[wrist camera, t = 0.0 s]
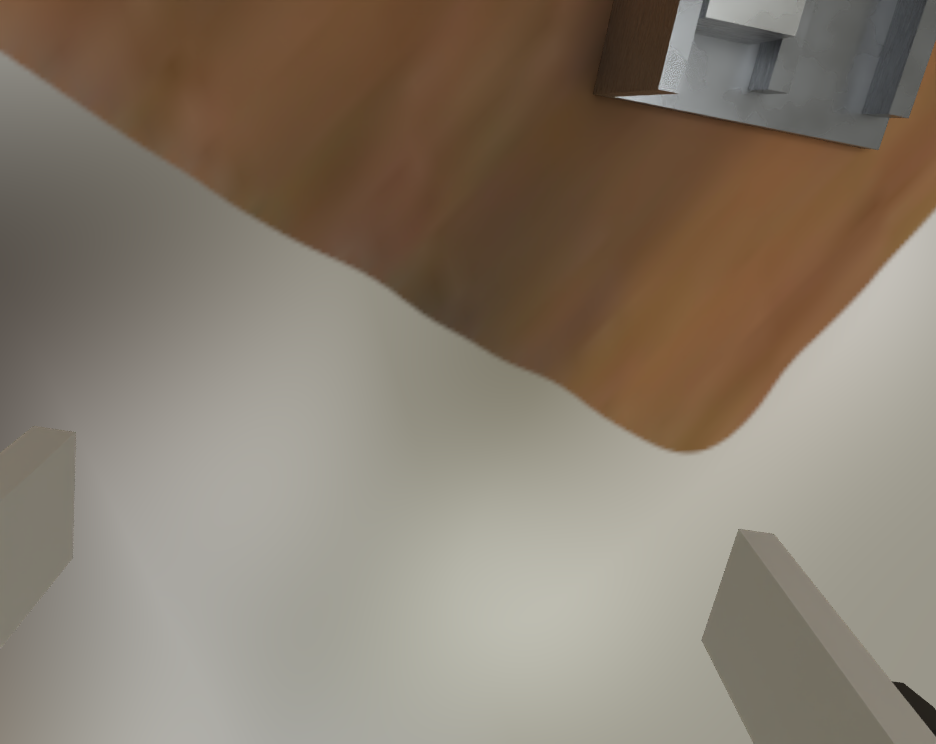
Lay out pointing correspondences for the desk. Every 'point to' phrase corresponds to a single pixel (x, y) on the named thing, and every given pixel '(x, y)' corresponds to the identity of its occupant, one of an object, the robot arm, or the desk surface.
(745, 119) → the rack
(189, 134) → the desk surface
